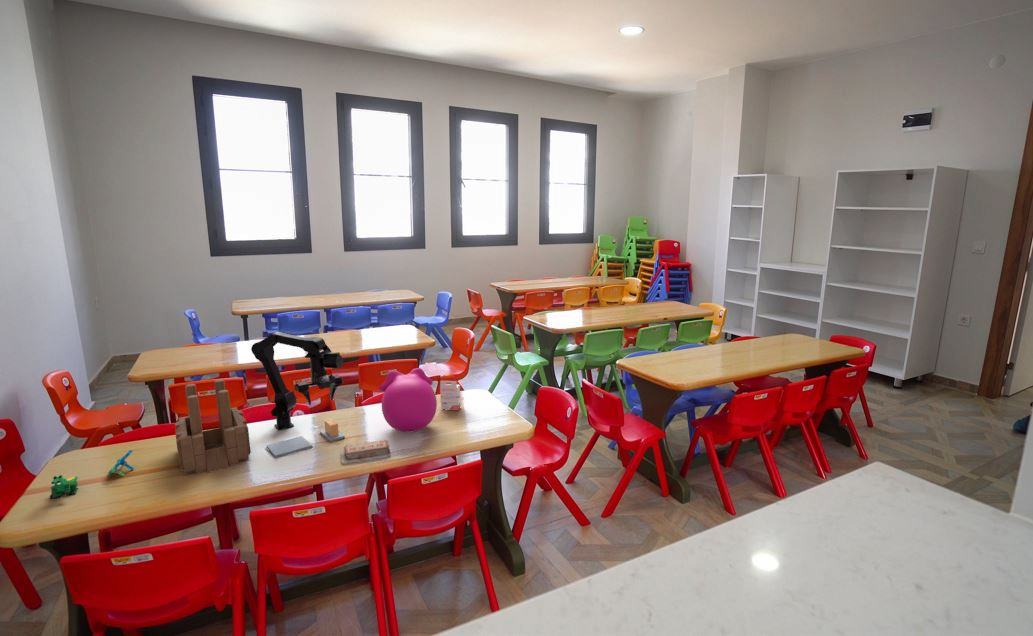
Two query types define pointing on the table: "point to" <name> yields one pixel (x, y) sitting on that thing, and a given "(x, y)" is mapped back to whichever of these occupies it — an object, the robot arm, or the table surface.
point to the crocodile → (63, 486)
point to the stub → (331, 431)
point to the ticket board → (289, 446)
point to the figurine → (408, 400)
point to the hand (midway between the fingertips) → (320, 402)
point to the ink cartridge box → (450, 395)
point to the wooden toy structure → (211, 435)
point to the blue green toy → (121, 462)
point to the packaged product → (365, 451)
